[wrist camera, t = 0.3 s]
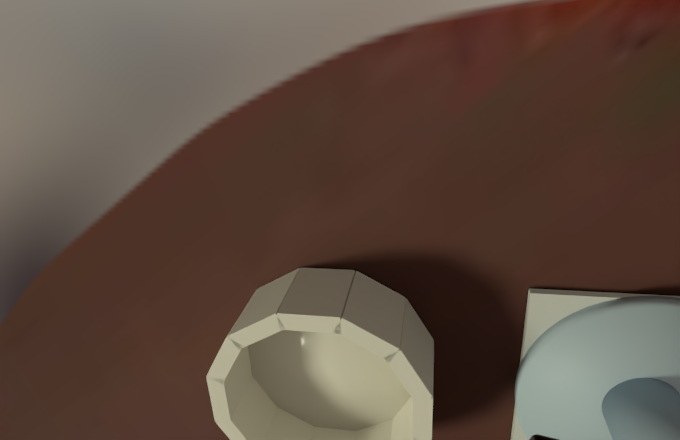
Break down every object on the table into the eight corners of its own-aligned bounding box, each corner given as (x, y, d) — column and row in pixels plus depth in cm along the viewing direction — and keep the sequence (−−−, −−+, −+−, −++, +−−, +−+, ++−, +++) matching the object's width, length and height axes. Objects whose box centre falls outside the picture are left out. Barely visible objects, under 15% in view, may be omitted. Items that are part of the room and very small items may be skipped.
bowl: (430, 438, 26) (429, 504, 23) (252, 419, 28) (226, 476, 25) (436, 274, 22) (435, 323, 19) (227, 263, 24) (192, 307, 21)
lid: (733, 488, 24) (799, 598, 19) (505, 462, 25) (518, 556, 21) (805, 303, 19) (910, 390, 15) (525, 288, 21) (547, 362, 17)
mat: (726, 478, 24) (730, 485, 23) (509, 454, 26) (510, 460, 25) (791, 301, 20) (797, 307, 19) (528, 288, 22) (530, 292, 21)
